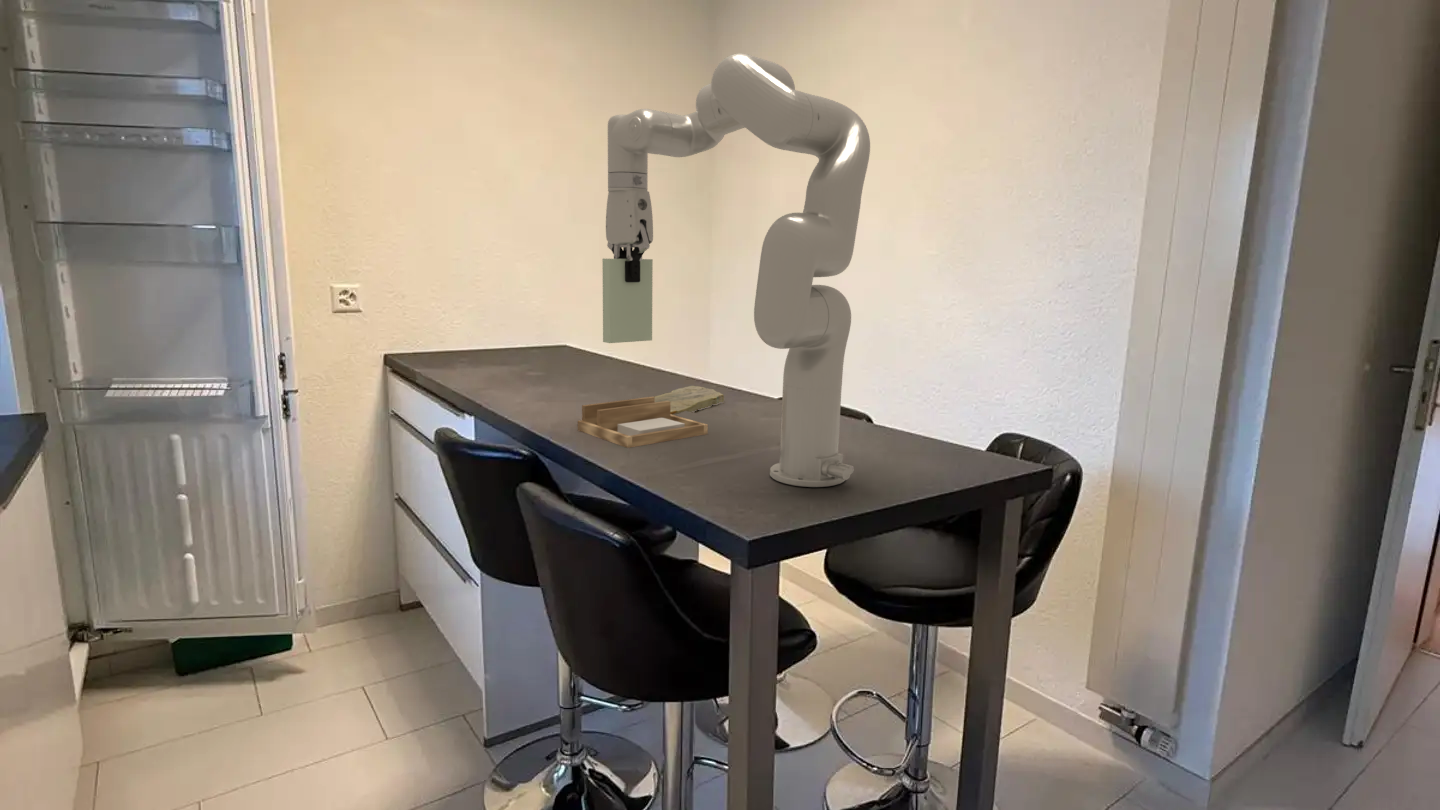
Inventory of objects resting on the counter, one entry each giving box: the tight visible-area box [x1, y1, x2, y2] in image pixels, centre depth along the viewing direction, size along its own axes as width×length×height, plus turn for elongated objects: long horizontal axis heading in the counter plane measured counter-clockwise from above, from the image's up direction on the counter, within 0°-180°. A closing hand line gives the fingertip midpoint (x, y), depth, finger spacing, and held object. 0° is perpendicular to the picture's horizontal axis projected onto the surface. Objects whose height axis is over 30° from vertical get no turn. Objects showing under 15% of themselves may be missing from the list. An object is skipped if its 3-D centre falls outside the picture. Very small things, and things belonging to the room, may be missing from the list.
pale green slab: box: [601, 258, 654, 344], centre depth 155 cm, size 2×10×16 cm, turn 131°
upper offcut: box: [618, 418, 685, 436], centre depth 154 cm, size 7×11×2 cm, turn 133°
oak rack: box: [577, 396, 709, 449], centre depth 156 cm, size 17×19×6 cm
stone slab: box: [653, 385, 725, 415], centre depth 187 cm, size 12×4×30 cm
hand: (627, 280), depth 154 cm, fingers closed on pale green slab, 2 cm apart
